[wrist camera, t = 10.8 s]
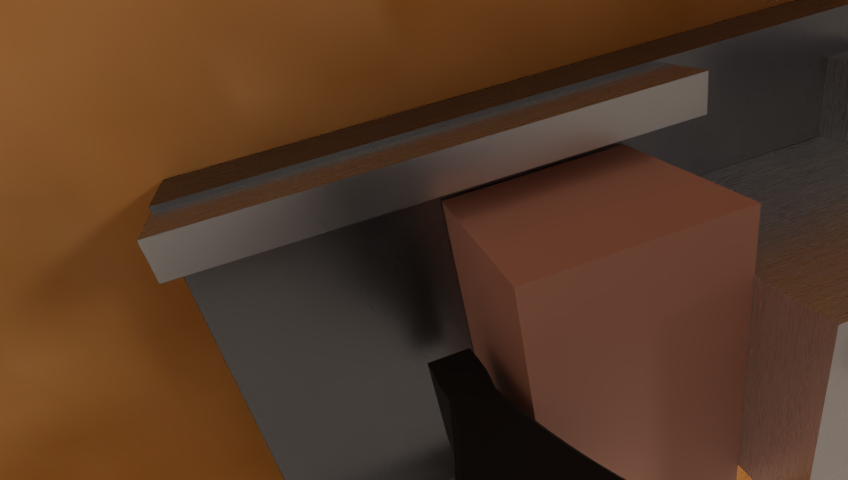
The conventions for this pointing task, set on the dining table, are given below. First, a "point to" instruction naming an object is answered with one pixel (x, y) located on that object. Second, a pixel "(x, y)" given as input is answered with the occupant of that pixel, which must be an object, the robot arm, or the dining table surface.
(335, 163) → the press bed
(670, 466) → the tall terracotta prism
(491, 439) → the robot arm
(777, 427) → the housing
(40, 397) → the dining table surface
